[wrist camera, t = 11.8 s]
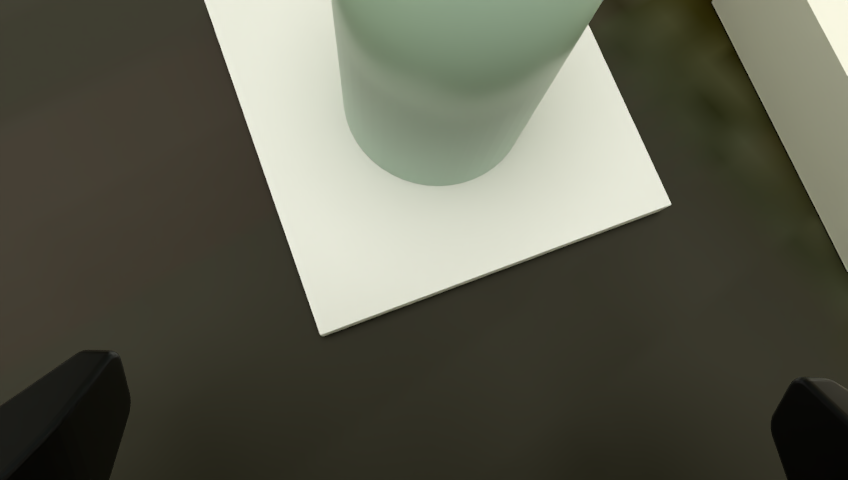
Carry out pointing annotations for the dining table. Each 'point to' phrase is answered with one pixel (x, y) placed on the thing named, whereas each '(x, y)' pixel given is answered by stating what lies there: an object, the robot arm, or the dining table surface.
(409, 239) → the cream panel
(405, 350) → the dining table surface
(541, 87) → the light green piece
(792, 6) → the shallow square tray
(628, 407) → the dining table surface
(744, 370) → the dining table surface
